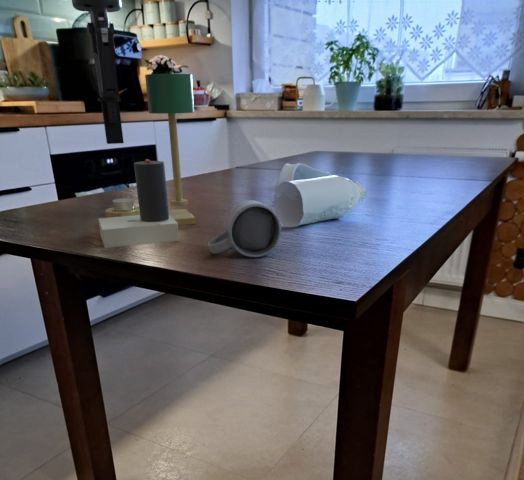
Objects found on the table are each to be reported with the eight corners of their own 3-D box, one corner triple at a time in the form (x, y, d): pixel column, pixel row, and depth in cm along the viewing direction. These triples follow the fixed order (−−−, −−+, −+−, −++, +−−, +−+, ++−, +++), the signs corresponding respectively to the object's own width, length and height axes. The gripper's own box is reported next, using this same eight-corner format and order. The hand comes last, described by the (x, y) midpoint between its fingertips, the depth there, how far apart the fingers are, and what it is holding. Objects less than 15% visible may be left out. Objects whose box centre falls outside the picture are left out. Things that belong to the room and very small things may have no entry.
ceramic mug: (272, 242, 84) (271, 193, 80) (282, 256, 77) (281, 203, 73) (206, 247, 82) (203, 197, 79) (210, 261, 75) (206, 207, 72)
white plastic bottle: (373, 217, 101) (376, 174, 97) (300, 231, 91) (301, 184, 87) (343, 210, 107) (346, 170, 103) (272, 223, 96) (272, 179, 93)
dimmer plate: (104, 248, 82) (101, 228, 81) (100, 235, 90) (97, 217, 88) (188, 240, 86) (186, 221, 85) (177, 228, 94) (176, 211, 92)
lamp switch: (114, 214, 94) (113, 202, 93) (113, 210, 97) (111, 199, 96) (135, 212, 95) (133, 201, 94) (132, 209, 98) (131, 197, 97)
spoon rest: (291, 183, 141) (291, 155, 137) (333, 185, 137) (334, 156, 134) (261, 198, 121) (260, 165, 117) (309, 200, 117) (310, 167, 114)
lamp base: (109, 231, 92) (107, 214, 91) (105, 221, 100) (103, 205, 99) (195, 224, 97) (194, 207, 96) (185, 214, 105) (184, 199, 103)
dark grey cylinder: (171, 220, 86) (166, 161, 82) (142, 222, 85) (135, 162, 80) (166, 214, 90) (161, 158, 86) (138, 217, 89) (131, 159, 85)
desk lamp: (162, 209, 94) (148, 73, 85) (155, 202, 101) (142, 75, 91) (204, 206, 97) (196, 73, 87) (195, 199, 104) (186, 75, 94)
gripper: (123, -28, 75) (142, 145, 86) (114, -11, 87) (132, 139, 97) (69, -31, 73) (95, 147, 84) (67, -14, 85) (90, 141, 95)
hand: (115, 142), depth 90 cm, fingers closed
